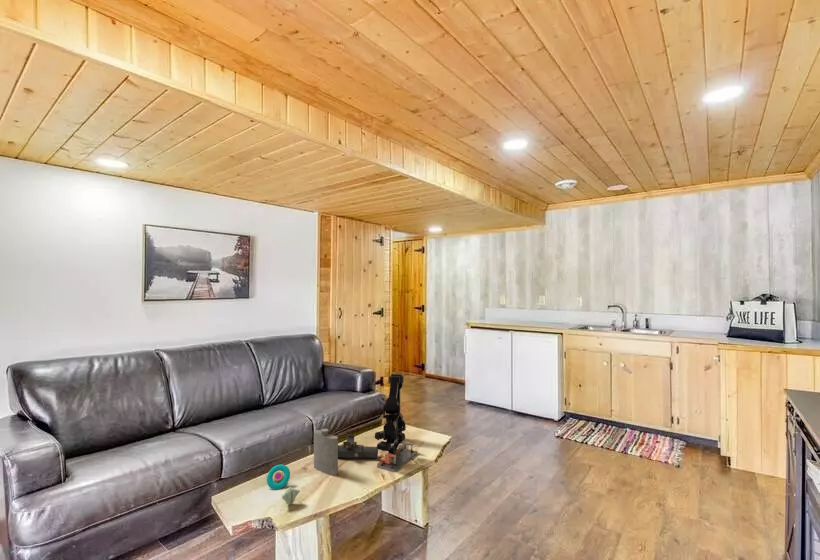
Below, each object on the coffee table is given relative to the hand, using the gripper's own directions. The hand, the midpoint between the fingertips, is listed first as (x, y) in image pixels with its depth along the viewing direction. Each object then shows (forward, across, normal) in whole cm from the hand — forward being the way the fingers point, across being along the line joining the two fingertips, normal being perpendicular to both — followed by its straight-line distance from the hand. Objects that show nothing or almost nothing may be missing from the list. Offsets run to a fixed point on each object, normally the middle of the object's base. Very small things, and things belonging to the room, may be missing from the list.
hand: (391, 457), depth 206 cm
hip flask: (+3, +23, -24) cm, 33 cm away
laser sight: (+3, +3, -20) cm, 20 cm away
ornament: (+3, +44, -33) cm, 55 cm away
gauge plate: (+3, -4, +1) cm, 5 cm away
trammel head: (+1, +3, 0) cm, 3 cm away
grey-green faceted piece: (+3, +53, -17) cm, 55 cm away
